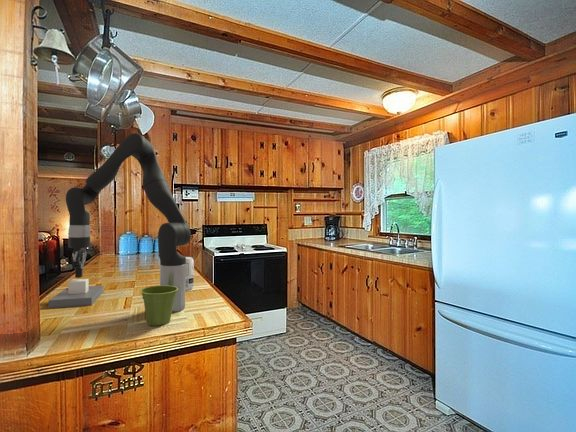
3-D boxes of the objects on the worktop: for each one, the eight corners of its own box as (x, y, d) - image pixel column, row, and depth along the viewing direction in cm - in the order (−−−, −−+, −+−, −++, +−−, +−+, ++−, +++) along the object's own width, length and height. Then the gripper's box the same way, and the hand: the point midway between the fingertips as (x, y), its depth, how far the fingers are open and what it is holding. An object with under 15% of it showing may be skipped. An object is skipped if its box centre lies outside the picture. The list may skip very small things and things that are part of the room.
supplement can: (172, 288, 147) (173, 257, 146) (188, 285, 153) (188, 256, 152) (180, 291, 141) (181, 259, 141) (196, 288, 147) (197, 258, 147)
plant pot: (176, 327, 98) (177, 292, 98) (136, 330, 95) (136, 294, 95) (178, 315, 110) (179, 284, 110) (143, 317, 106) (143, 285, 106)
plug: (85, 298, 125) (85, 281, 125) (68, 299, 123) (68, 282, 123) (88, 295, 129) (88, 278, 129) (71, 296, 127) (72, 279, 127)
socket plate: (91, 305, 119) (91, 296, 119) (48, 308, 114) (48, 298, 114) (103, 292, 138) (103, 284, 138) (66, 294, 133) (67, 286, 133)
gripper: (85, 237, 121) (84, 280, 121) (94, 234, 133) (93, 273, 133) (63, 237, 118) (62, 281, 118) (74, 234, 131) (73, 274, 131)
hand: (78, 277), depth 126 cm, fingers closed
